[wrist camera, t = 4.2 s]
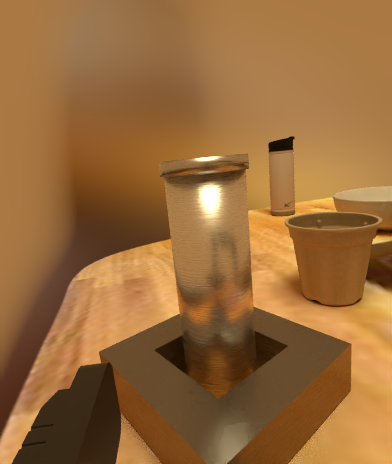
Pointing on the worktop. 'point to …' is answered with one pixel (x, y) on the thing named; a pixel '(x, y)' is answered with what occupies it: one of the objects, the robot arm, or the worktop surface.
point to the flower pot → (333, 254)
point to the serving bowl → (367, 203)
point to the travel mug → (282, 177)
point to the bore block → (231, 394)
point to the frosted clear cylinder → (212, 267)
